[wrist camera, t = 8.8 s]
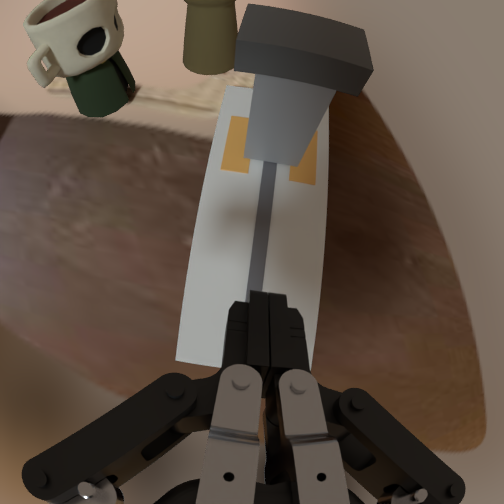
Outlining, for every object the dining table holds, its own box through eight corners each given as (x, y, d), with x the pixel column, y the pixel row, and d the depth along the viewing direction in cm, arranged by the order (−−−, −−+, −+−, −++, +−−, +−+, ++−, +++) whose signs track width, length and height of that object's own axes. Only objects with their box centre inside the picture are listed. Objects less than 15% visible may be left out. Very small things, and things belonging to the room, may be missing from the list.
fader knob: (310, 173, 21) (373, 70, 10) (229, 159, 20) (236, 39, 10) (312, 134, 21) (364, 29, 11) (236, 120, 21) (248, 3, 10)
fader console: (302, 369, 20) (310, 375, 18) (180, 355, 20) (175, 360, 18) (322, 116, 25) (328, 102, 23) (226, 99, 24) (226, 84, 22)
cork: (233, 38, 26) (240, -41, 15) (246, 70, 25) (257, -19, 14) (180, 46, 25) (172, -35, 14) (185, 79, 24) (175, -12, 13)
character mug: (111, 147, 22) (49, 40, 10) (55, 138, 22) (-11, 54, 9) (160, 64, 24) (142, -38, 12) (106, 61, 24) (75, -26, 12)
